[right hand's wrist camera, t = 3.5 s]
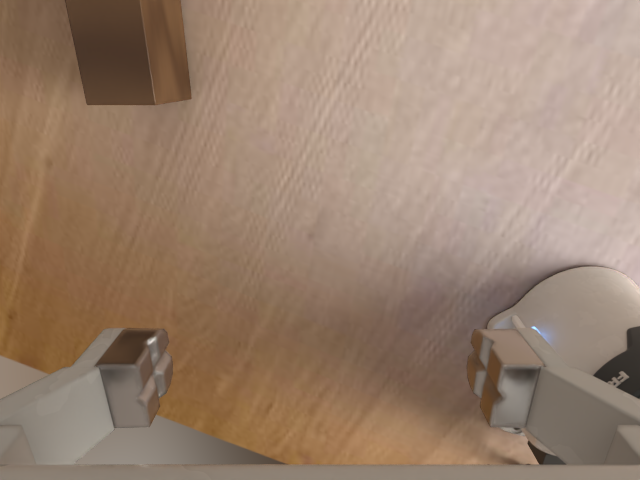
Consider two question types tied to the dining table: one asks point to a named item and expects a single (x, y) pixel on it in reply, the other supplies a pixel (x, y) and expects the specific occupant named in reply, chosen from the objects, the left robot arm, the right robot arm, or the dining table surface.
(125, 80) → the bar
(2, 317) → the dining table surface
